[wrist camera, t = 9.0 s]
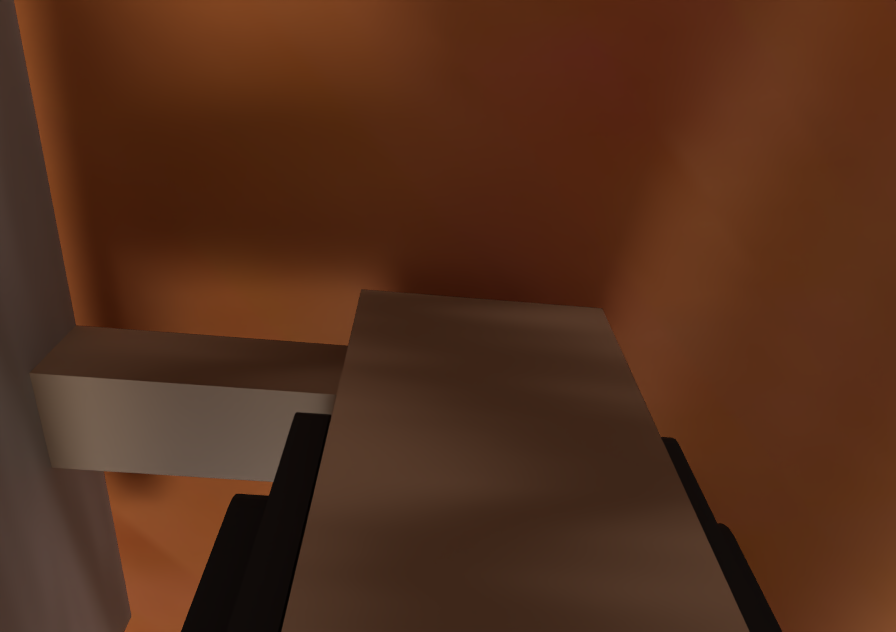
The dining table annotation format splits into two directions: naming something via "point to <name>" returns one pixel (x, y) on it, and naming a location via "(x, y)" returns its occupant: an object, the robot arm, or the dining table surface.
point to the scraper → (342, 450)
